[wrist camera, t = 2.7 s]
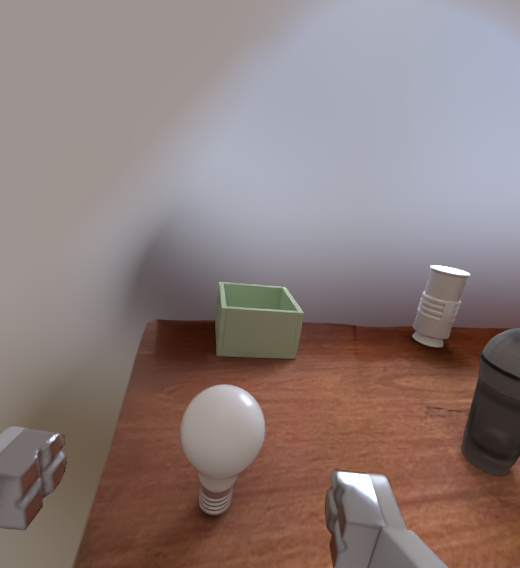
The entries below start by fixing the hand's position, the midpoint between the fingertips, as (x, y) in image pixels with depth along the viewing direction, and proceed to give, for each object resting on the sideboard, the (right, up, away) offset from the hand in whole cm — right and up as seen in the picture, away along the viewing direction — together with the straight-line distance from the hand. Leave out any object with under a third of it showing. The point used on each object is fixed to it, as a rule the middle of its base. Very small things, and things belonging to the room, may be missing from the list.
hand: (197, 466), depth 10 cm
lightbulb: (-2, -13, +17) cm, 21 cm away
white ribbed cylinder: (+36, -6, +56) cm, 67 cm away
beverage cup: (+27, -14, +26) cm, 40 cm away
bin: (0, -4, +46) cm, 46 cm away
